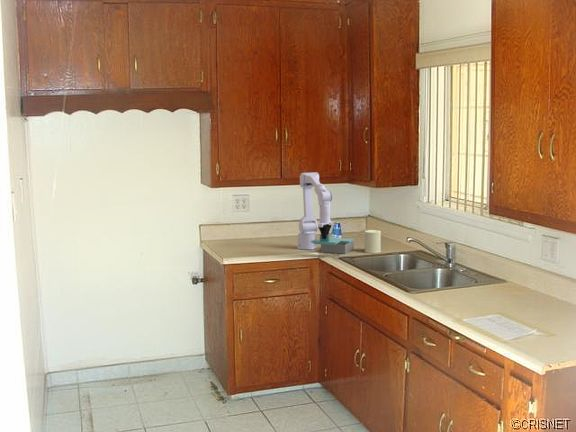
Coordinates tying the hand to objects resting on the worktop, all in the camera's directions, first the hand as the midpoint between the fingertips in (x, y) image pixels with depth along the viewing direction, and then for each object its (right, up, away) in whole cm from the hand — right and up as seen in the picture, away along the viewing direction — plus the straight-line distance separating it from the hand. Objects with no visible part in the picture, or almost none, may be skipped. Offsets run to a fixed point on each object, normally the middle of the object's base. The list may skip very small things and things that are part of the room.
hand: (324, 238), depth 375 cm
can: (+28, -8, +15) cm, 32 cm away
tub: (+8, -7, +18) cm, 21 cm away
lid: (0, -3, +2) cm, 3 cm away
